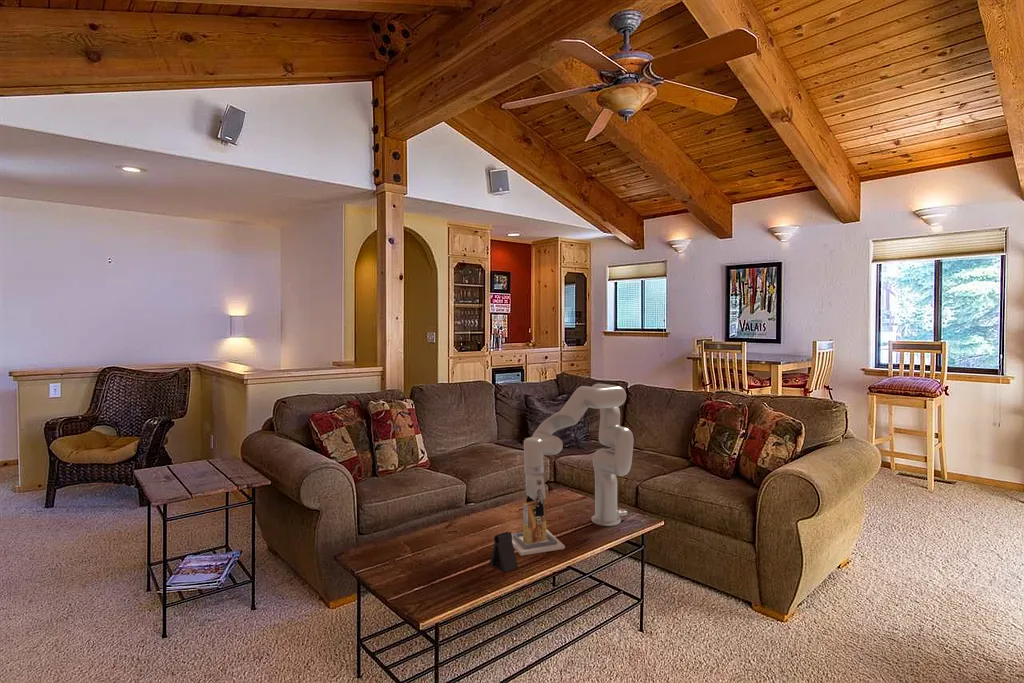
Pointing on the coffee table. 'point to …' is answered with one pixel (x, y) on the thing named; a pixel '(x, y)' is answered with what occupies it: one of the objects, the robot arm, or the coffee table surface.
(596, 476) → the robot arm
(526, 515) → the candy box
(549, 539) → the tile
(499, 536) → the phone stand
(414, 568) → the coffee table surface
